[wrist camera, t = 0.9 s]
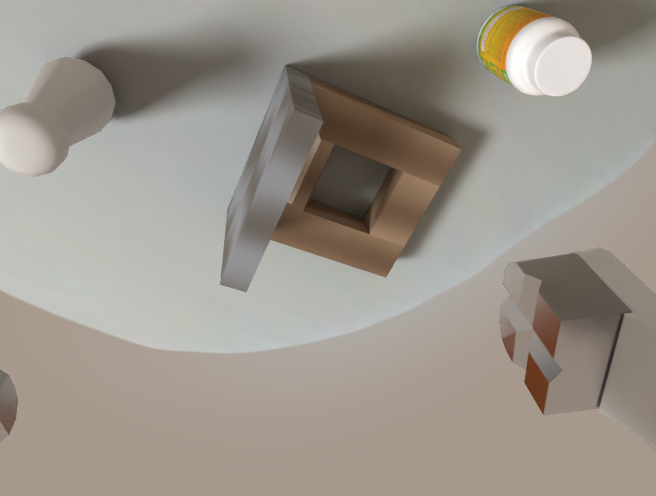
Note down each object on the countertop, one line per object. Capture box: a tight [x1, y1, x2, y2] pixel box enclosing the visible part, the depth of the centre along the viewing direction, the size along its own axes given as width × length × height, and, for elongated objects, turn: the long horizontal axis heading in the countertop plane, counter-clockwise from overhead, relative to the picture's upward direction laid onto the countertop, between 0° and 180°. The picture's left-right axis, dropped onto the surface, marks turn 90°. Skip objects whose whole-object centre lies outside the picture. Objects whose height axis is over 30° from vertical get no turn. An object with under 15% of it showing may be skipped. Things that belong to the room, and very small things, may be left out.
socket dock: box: [220, 65, 462, 292], centre depth 44 cm, size 14×16×12 cm
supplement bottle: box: [477, 5, 592, 96], centre depth 40 cm, size 5×5×10 cm
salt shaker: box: [0, 57, 116, 176], centre depth 37 cm, size 6×6×13 cm
